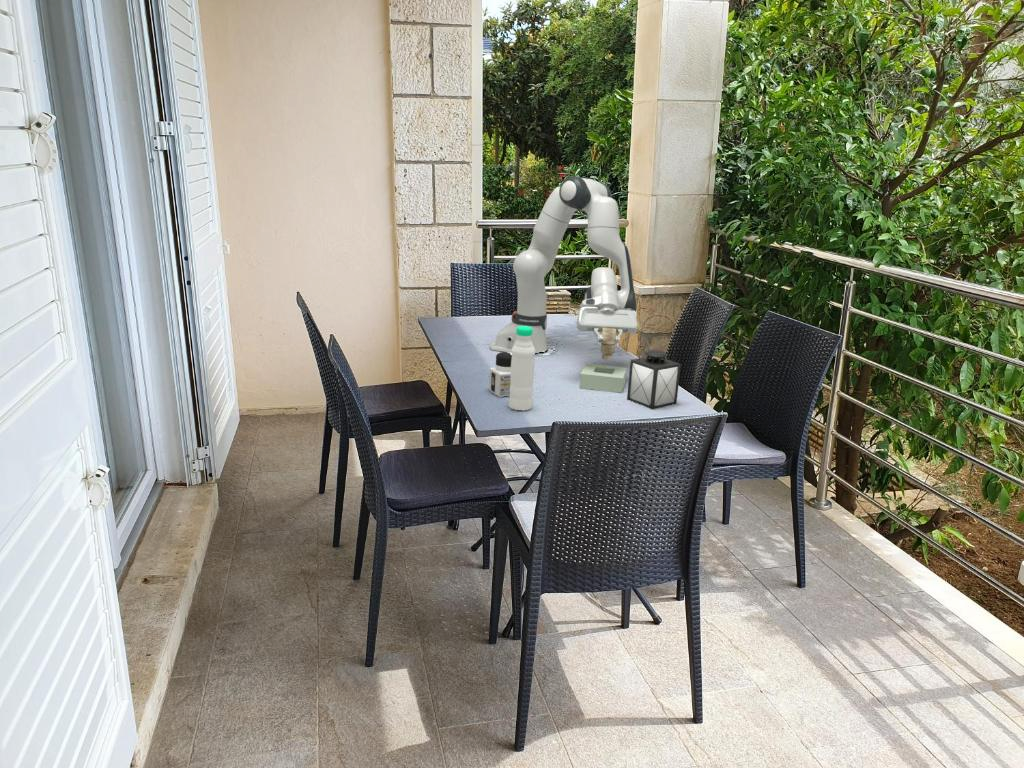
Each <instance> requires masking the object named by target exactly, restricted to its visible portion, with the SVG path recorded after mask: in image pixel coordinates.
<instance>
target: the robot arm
mask: <svg viewBox="0 0 1024 768" xmlns="http://www.w3.org/2000/svg"><path fill="white" fill-rule="evenodd" d="M542 207H543V208H542V210H541V212H540V214H539V217H538V218H537V220H536V222H535V225H534V227H533V229H532V230H533V233H532V238H531V242H530V244H529V247H528V249H526V250H523V251H521V252H520V253H519V254H518V255H517V256H516V257H515V258H514V260H513V263H512V266H513V267H512V269H513V272H514V274H515V278H516V279H515V280H516V287H517V305H516V306H517V309H516V311H514V312H512V314H511V322H510V323H508V324H506V325H505V326H504V327H502V328H501V329H499V331H497V334H496V338H495V340H493V341H492V342H491V343H490V345H489V349H490V350H492V351H498V352H510V353H512V348H513V346H514V345H515V342H516V340H517V339H518V336H517V334H516V330H517V327H519V326H528V327H531V328H532V329H533V333H532V336H531V341H532V343H533V346H534V349H535V353H538V352H543V351H546V350H547V349H548V345H547V335H546V333H547V331H546V330H547V326H548V314H547V300H548V299H547V298H548V293H547V291H546V286H545V284H546V283H545V275H546V274H549V272H550V271H551V270H552V269H553V266H554V264H555V260H556V258H557V254H558V250H559V247H560V245H561V242H562V240H563V237H564V235H565V232H566V231H567V229H568V226H569V225H570V222H571V220H572V218H573V215H574V214H575V212H576V211H584V212H585V213H586V214H587V228H586V229H587V230H586V232H587V235H586V236H587V244H588V246H589V247H590V249H591V250H592V251H593V252H595V253H596V254H598V255H600V256H602V257H604V258H606V259H609V260H610V261H612V262H614V263H615V265H616V266H617V268H618V271H619V280H620V288H621V289H620V290H618V284H617V283H618V282H617V277H616V275H615V271H614V269H613V268H612V267H608V266H607V267H606V266H599V267H597V268H594V269H593V270H592V272H591V279H590V280H591V282H590V283H591V284H590V286H589V287H588V288H587V290H586V291H584V295H583V300H582V301H581V303H580V306H579V309H578V310H579V312H578V313H577V314H578V315H577V317H576V318H577V319H576V329H577V330H578V331H579V332H592V333H593V336H594V337H595V338H596V342H598V343H601V342H602V334H600V333H602V331H603V328H605V327H606V328H615V329H616V337H615V344H620V341H621V336H622V335H623V334H631V335H632V334H636V333H637V330H638V328H639V324H638V320H637V318H638V315H637V308H638V303H637V302H638V301H637V298H636V292H635V287H634V286H635V285H634V280H633V279H634V278H633V271H632V264H631V257H630V252H629V248H628V246H627V245H626V244H624V243H623V241H622V239H621V236H620V214H619V206H618V203H617V201H616V200H615V199H614V198H613V197H612V191H611V189H610V188H609V186H608V185H606V184H605V183H603V182H600V181H597V180H594V179H592V178H584V177H581V176H580V177H579V176H570V177H567V178H565V179H564V180H563V181H562V183H561V184H560V186H557V187H555V188H554V189H553V190H552V192H551V193H550V195H549V196H548V198H547V200H546V202H545V203H544V205H543V206H542ZM548 350H549V349H548ZM538 354H539V353H538Z"/></svg>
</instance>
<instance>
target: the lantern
mask: <svg viewBox="0 0 1024 768" xmlns="http://www.w3.org/2000/svg"><path fill="white" fill-rule="evenodd" d="M654 317H664V318H666V319H668V320H669V321H670V322H671V323H672V325H673V328H674V329H673V330H674V332H676V327H675V324H674V322H673V321H672V320H671V319H670V318H669V317H667V316H665V315H662V314H661V315H659V314H657V315H652V316H650V317H648V318H647V319H646V320H645V321H644V323H643V324H642V327H641V331H640V337H639V338H640V339H639V348H641V343H642V342H641V341H642V333H643V329H644V326H645V324H646V322H647V321H648V320H649V319H651V318H654ZM673 342H674V344H673V350H675V347H676V346H675V345H676V341H673ZM638 355H639V356H638V358H634V359H630V362H629V363H630V365H629V372H628V373H629V375H628V385H627V394H626V395H627V396H626V400H627V401H629V400H630V402H632V401H633V403H635V404H637V403H638V405H640V406H642V405H643V406H642V407H645V408H648V409H650V410H656V409H659V408H664V407H668V406H672V404H673V405H674V404H675V405H677V403H678V402H677V401H678V392H679V383H680V382H679V381H680V374H681V367H682V366H681V365H682V363H679V362H676V361H675V360H674V359H675V352H673V353H672V355H673V357H672V360H670V359H667V358H666V357H668V356H669V355H668V354H667V353H666V352H665V351H663V350H658V349H650V350H649V349H648V351H646V352H645V353H644V355H646V356H645V357H641V354H638Z"/></svg>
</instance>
